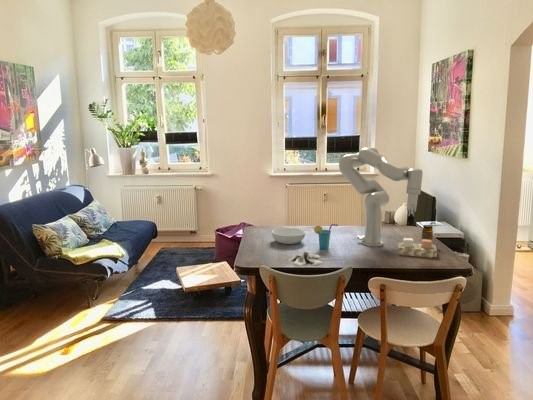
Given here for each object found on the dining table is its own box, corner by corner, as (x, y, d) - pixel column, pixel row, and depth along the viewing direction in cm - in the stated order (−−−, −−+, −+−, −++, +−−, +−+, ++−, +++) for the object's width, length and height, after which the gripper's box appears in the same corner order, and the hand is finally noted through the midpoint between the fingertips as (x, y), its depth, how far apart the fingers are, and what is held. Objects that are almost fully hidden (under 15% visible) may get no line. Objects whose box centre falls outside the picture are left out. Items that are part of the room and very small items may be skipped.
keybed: (398, 254, 236) (398, 247, 236) (398, 248, 248) (398, 242, 247) (436, 257, 231) (437, 250, 230) (434, 251, 242) (435, 244, 241)
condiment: (435, 245, 255) (436, 226, 253) (426, 247, 250) (427, 228, 248) (424, 242, 261) (426, 223, 259) (415, 244, 256) (417, 225, 254)
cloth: (318, 255, 238) (318, 244, 237) (328, 265, 220) (329, 254, 219) (279, 257, 234) (279, 246, 232) (287, 268, 216) (287, 257, 214)
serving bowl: (293, 249, 247) (293, 237, 246) (264, 243, 260) (264, 232, 259) (311, 241, 264) (311, 230, 262) (284, 236, 276) (284, 226, 275)
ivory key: (403, 250, 239) (403, 239, 238) (402, 248, 243) (403, 237, 242) (412, 251, 237) (413, 240, 236) (412, 248, 242) (412, 238, 241)
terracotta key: (421, 252, 236) (422, 241, 235) (421, 249, 241) (421, 239, 239) (431, 252, 234) (432, 242, 233) (430, 250, 239) (431, 239, 238)
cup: (335, 246, 252) (335, 222, 250) (338, 250, 245) (339, 225, 242) (312, 247, 251) (312, 222, 248) (315, 251, 243) (316, 225, 240)
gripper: (406, 188, 244) (403, 218, 248) (406, 192, 230) (403, 225, 234) (420, 189, 242) (417, 220, 245) (421, 193, 228) (417, 226, 231)
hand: (410, 222), depth 239 cm, fingers closed
